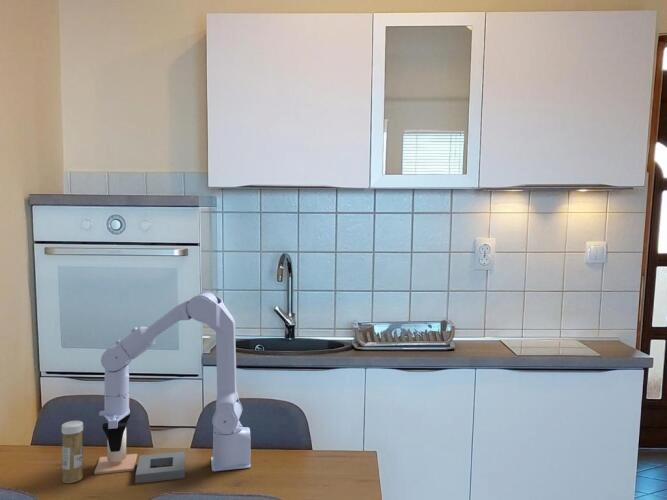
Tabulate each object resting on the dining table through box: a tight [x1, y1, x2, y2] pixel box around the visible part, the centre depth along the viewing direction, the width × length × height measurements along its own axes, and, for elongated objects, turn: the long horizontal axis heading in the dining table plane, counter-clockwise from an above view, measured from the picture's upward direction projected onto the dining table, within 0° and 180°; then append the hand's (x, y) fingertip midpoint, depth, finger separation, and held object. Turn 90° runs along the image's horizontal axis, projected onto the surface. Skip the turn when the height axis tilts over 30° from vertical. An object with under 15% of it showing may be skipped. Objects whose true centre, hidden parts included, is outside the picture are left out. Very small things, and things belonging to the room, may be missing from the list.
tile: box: [93, 453, 138, 476], centre depth 132 cm, size 9×9×1 cm
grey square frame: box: [135, 451, 186, 484], centre depth 129 cm, size 11×11×2 cm
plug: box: [106, 427, 127, 462], centre depth 132 cm, size 4×4×8 cm
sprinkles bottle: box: [61, 420, 84, 484], centre depth 124 cm, size 5×5×14 cm
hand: (116, 447), depth 132 cm, fingers closed on plug, 4 cm apart
